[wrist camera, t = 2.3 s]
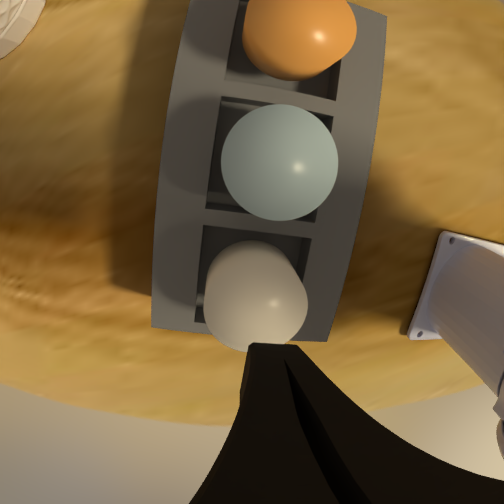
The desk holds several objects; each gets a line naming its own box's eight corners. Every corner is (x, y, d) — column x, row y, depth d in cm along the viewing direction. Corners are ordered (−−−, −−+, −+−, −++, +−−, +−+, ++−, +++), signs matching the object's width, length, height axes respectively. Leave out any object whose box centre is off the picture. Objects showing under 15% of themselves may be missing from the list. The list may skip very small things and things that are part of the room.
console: (362, 33, 13) (387, 16, 11) (312, 314, 19) (326, 341, 16) (201, 0, 12) (197, -26, 9) (161, 299, 17) (151, 327, 15)
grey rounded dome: (323, 123, 12) (346, 117, 10) (308, 213, 13) (326, 228, 11) (229, 106, 12) (230, 95, 9) (215, 200, 13) (213, 212, 10)
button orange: (337, 15, 11) (359, -7, 8) (328, 90, 12) (351, 79, 9) (249, -5, 10) (255, -33, 8) (235, 72, 11) (237, 54, 9)
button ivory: (301, 245, 14) (317, 267, 11) (285, 323, 15) (295, 354, 13) (211, 234, 13) (208, 255, 11) (203, 316, 15) (199, 348, 12)
